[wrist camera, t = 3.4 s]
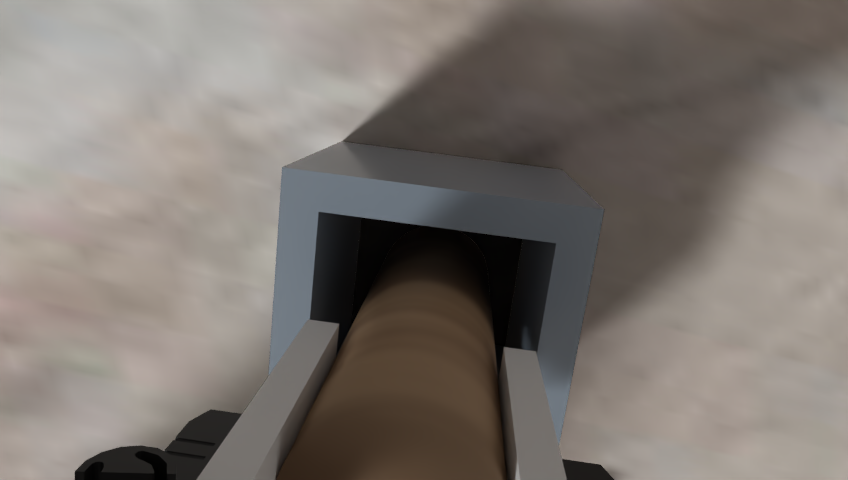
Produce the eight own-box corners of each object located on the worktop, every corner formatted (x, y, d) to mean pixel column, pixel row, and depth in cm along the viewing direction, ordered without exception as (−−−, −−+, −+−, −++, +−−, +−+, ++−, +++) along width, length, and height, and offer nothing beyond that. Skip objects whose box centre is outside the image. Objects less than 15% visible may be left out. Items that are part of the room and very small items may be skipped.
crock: (341, 141, 23) (282, 167, 16) (562, 169, 23) (604, 209, 16) (323, 345, 25) (263, 450, 18) (526, 373, 25) (549, 494, 18)
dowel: (388, 218, 24) (278, 396, 10) (495, 232, 24) (528, 433, 10) (377, 318, 25) (263, 604, 11) (480, 333, 25) (491, 640, 11)
